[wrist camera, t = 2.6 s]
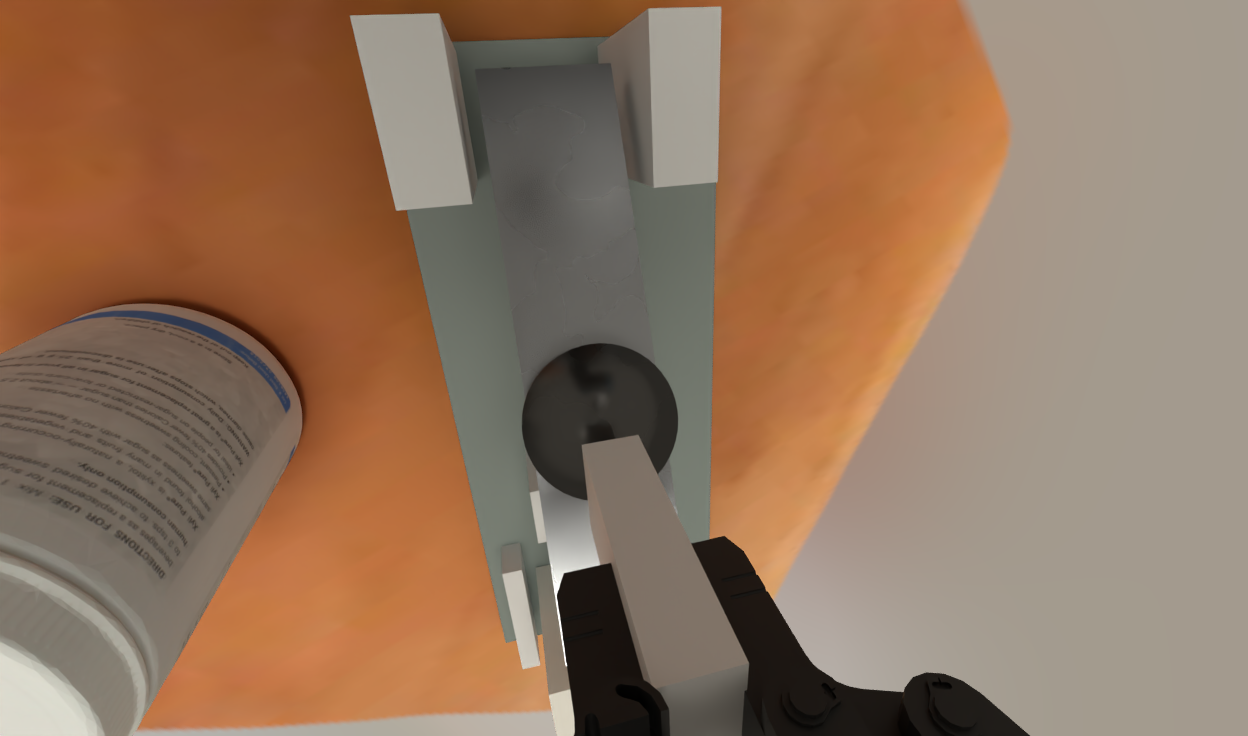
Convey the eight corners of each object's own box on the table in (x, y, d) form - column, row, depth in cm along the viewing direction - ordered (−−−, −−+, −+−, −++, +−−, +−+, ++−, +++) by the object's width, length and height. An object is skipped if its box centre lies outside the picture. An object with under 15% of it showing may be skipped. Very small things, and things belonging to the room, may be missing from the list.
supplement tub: (7, 296, 20) (-914, 620, 7) (288, 296, 22) (-1, 541, 9) (94, 502, 24) (-385, 958, 11) (325, 485, 26) (161, 844, 13)
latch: (523, 497, 27) (534, 616, 21) (633, 476, 29) (677, 582, 22) (544, 616, 31) (558, 748, 25) (640, 593, 32) (679, 713, 26)
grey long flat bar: (472, 95, 16) (462, 47, 14) (609, 87, 17) (623, 42, 15) (556, 643, 17) (561, 688, 14) (687, 611, 17) (713, 648, 15)
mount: (375, 49, 19) (303, 0, 12) (707, 37, 22) (821, -9, 14) (505, 625, 33) (510, 773, 25) (701, 579, 35) (758, 701, 28)
